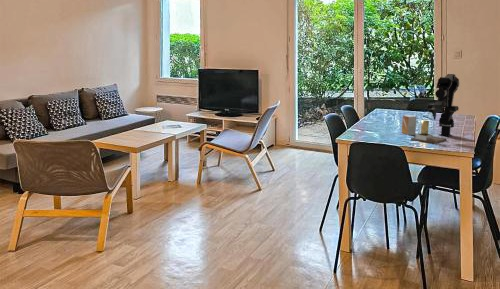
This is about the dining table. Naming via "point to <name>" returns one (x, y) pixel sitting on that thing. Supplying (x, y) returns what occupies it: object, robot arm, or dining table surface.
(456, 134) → the dining table surface
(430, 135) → the hinge clip
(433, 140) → the cabinet panel
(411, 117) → the small box
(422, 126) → the hinge pin
